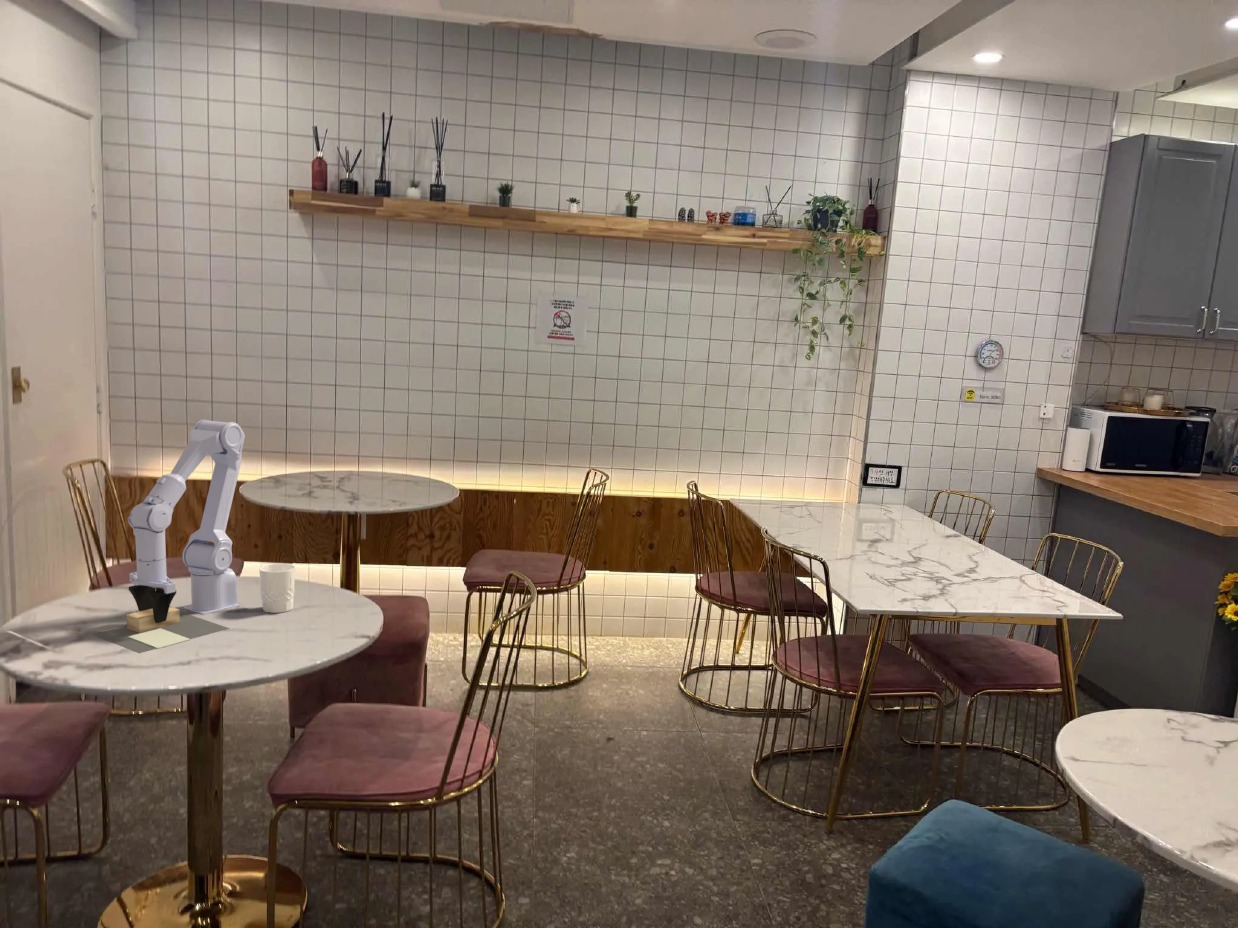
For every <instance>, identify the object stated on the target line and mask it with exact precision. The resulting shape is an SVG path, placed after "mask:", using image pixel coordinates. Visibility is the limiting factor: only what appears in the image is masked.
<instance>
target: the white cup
mask: <svg viewBox="0 0 1238 928" xmlns="http://www.w3.org/2000/svg"><path fill="white" fill-rule="evenodd" d="M258 570H259V584H260V596H261V604H262V610H263V612H266V613H269V612H270V614H279V613H280V614H281V613H286V612H289V611H292V609H294V598H295V585H296V584H295V583H296V582H295V581H296V566H295V565H293V564H291V563H271V564H266V565H263V566H261V567H259V569H258Z"/></svg>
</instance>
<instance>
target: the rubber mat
mask: <svg viewBox="0 0 1238 928" xmlns="http://www.w3.org/2000/svg"><path fill="white" fill-rule="evenodd" d="M179 613H180V623H176V624H172V625H169V626H165V627H161V628H157V629H153V630H149V631H145V632H141V633H139V632H136V631H133V630H131V629H128V628H127V625H124V626H121V627H117V628H116V627H115V628H111V629H109V630H108V629H107V630H103V631H100V632H96V633H92V635H93V636H95V637H98V638H100V639H103V640H105V641H108V642H110V643H112V644H115V645H118V646H120V647H123V648H125V649H128V650H130V651H133V652H136V653H138V654H142V653H146V652H149V651H152V650H157V649H162V648H165V647H169V646H174V645H177V644H181V643H184V642H188V641H190V640H192V639H193V640H194V639H196V638H200V637H203V636H207V635H210V634H215V633H218V632H219V633H220V632H223V631H226V630H230V627H227V626H225V625H221V624H218V623H215V622H212V621H210V620H207V619H203V618H202V617H201V618H200V617H197V616H195V615H192V614H188V613H186V612H179Z"/></svg>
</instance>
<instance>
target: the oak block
mask: <svg viewBox="0 0 1238 928" xmlns="http://www.w3.org/2000/svg"><path fill="white" fill-rule="evenodd" d="M180 613H181V612H180V609H179V608H176V607H172V606H170V607H169V610H168V614H167V618H166V621H164V622H160V623H156V622H155V620H154V615H153V608H152V609H148V610H144V611H140V612H139V611H135V612H132V613H128V614H126V615H125V616H126V618H125V619H126V626H127V628H128V629H131V630H133V631H136V632H139V633H141V632H145V631H149V630H153V629H157V628H161V627H165V626H169V625H172V624H176V623H180Z"/></svg>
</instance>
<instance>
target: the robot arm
mask: <svg viewBox="0 0 1238 928" xmlns="http://www.w3.org/2000/svg"><path fill="white" fill-rule="evenodd" d="M188 436H189V442H188V443H187V444H186V447H185V449H184V450H183V452H182V453H181V455H180V457H179V458H178V460H177V462H176V463H175V465H174V466H173V468H172V470H171V472H170V473H167V474H163V475H161V477H158V478H157V479H156V484H155V485H154V486H153V487H152V489H151V490H150V492H149V493H148V494H147V496H146V497H145V498H144V500H143V501H142V502H141V503H139V504H136V505H135V506H134V507H133V508H132V509H131V511H130V514H129V516H128V517H127V522H128V524H129V526H130V527H131V528H132V529H133V530H132V532H133V536H134V537H135V553H136V554H135V555H136V556H135V557H136V558H135V559H136V571H134V572H130V573H129V574H128V576H129V582H130V583H131V584H132V585H131V586H128V591H129V592H130V594H131V595H132V597H133V598H134V601H135V603H136V606H137V609H138V612H140V611H144V610H148V609H152V608H153V615H154V620H155V622H156V623H160V622H164V621H166V618H167V614H168V610H169V607H171V603H172V601H173V599H174V597H175V596H176V594H177V589H176V582H173V581H172V580H171V579H170V578H169V577H168V576H167V555H166V554H167V552H166V551H167V550H166V529H167V528H168V527H169V526H170V525H171V523H172V518H173V517H172V516H173V512H174V510H175V509H174V508H175V507H176V505H177V504H178V502H179V500H180V499H181V498H182V496H183V494H184V493H186V491H187V486H186V485H187V484H186V481H187V480H188V479H189V477H190V476H191V475H192V474H193V472H194V471H195V470H196V468H198V466H200V464H201V462H202V461H203V460H204V459H205V457H207V456H210V458H211V459H212V461H214V467H213V471H212V475H211V476H212V477H211V479H210V484H209V489H208V493H207V498H206V501H205V505H204V510H203V515H202V518H201V521H200V522H201V523H200V527H199V529H197V530H195V532H193V533H192V534H190V536H189V539H188V542H187V544H186V545H185V547H184V548H183V552H182V559H181V560H182V562H183V564H184V565H185V566H186V567H187V569H188V572H190V592H191V604H189V605H185V606H183V609H185V610H189V611H191V612H194V613H197V614H200V615H207V614H211V613H215V612H218V611H223V610H227V609H231V608H235V607H239V606H240V603H238V581H237V576H236V573H235V572H234V570H233V569H232V568H230V566H231V563H232V560H233V553H232V549H233V548H232V546H233V540H231V538H230V537H229V536H228V534H227V533H226V530H227V527H228V526H227V525H228V521H229V518H230V512H231V510H232V509H231V508H232V503H233V499H234V494H235V490H236V487H237V481H238V479H239V478H238V477H239V473H240V469H241V465H242V460H243V459H242V456H243V455H242V451H243V447H244V443H245V438H246V435H245V433H244V431H243V429H242V428H241V426H240V425H239V423H236V422H233V421H230V422H226V421H225V422H224V421H217V420H208V419H200V420H198V421H197V422H196V423H195V424H194V426H193V428H192V430H191V431H189V435H188ZM212 543H213V544H212Z"/></svg>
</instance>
